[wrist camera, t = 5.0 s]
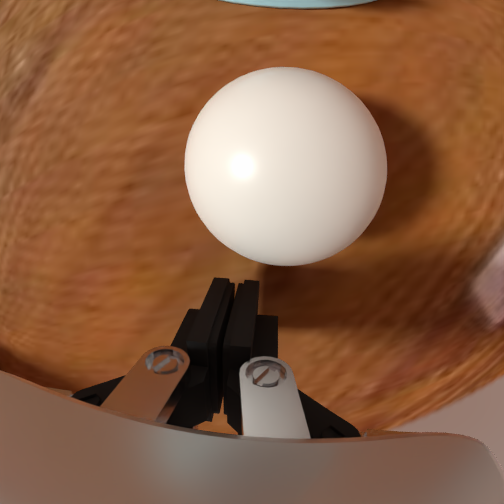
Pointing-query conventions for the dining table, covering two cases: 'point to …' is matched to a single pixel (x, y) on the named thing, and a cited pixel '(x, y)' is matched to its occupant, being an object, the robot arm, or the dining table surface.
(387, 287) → the dining table surface
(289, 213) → the cue ball
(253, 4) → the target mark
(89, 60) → the dining table surface
